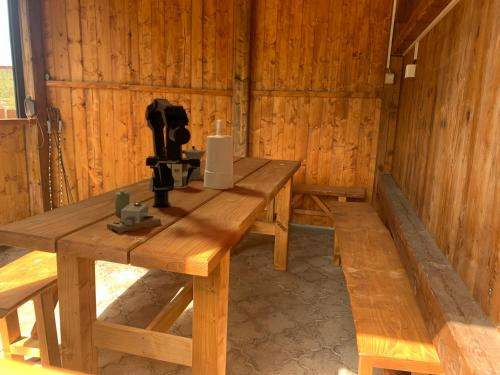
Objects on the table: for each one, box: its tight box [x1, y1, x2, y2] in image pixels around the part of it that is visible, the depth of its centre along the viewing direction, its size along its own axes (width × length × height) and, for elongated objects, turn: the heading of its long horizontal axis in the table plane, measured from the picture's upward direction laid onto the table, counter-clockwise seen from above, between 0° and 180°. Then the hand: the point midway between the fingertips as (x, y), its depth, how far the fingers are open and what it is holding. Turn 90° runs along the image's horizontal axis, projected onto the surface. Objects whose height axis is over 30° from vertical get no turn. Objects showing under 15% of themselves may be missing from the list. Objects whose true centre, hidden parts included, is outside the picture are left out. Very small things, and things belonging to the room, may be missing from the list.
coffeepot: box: [182, 145, 206, 180], centre depth 215 cm, size 15×9×18 cm, turn 103°
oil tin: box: [114, 189, 131, 217], centre depth 141 cm, size 5×5×9 cm
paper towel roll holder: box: [203, 119, 235, 190], centre depth 195 cm, size 15×15×33 cm
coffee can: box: [167, 157, 188, 189], centre depth 192 cm, size 10×10×14 cm
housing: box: [120, 202, 149, 225], centre depth 129 cm, size 14×6×5 cm, turn 178°
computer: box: [106, 215, 162, 235], centre depth 130 cm, size 16×8×3 cm, turn 135°
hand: (173, 185), depth 139 cm, fingers open, 9 cm apart
